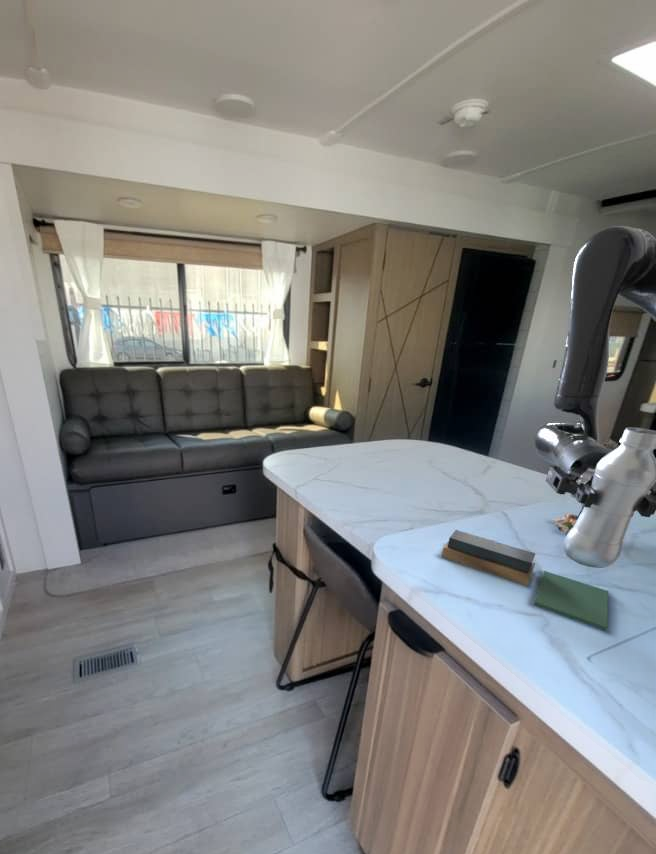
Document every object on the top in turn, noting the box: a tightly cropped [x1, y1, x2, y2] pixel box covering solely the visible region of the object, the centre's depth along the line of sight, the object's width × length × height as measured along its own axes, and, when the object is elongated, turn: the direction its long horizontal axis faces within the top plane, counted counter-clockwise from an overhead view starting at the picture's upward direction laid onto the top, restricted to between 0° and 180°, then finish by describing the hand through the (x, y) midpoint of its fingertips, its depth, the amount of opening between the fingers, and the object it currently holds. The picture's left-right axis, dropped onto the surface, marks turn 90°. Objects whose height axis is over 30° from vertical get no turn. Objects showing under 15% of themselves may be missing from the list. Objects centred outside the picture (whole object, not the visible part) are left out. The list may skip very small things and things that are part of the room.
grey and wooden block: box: [440, 529, 536, 587], centre depth 71 cm, size 14×5×4 cm, turn 53°
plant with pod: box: [551, 438, 620, 534], centre depth 81 cm, size 8×11×20 cm
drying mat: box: [533, 570, 609, 631], centre depth 64 cm, size 9×11×1 cm
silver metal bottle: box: [562, 427, 656, 569], centre depth 56 cm, size 6×7×20 cm
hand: (619, 505), depth 54 cm, fingers closed on silver metal bottle, 6 cm apart
